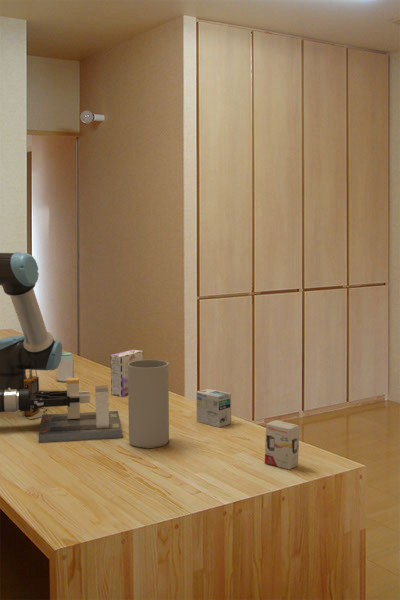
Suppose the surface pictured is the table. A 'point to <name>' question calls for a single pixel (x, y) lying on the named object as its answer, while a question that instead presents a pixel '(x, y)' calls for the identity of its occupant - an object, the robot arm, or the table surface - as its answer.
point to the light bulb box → (214, 407)
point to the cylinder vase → (148, 403)
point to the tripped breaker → (73, 390)
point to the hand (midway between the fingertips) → (89, 396)
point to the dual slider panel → (83, 423)
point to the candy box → (122, 370)
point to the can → (65, 367)
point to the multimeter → (32, 391)
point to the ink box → (282, 444)
